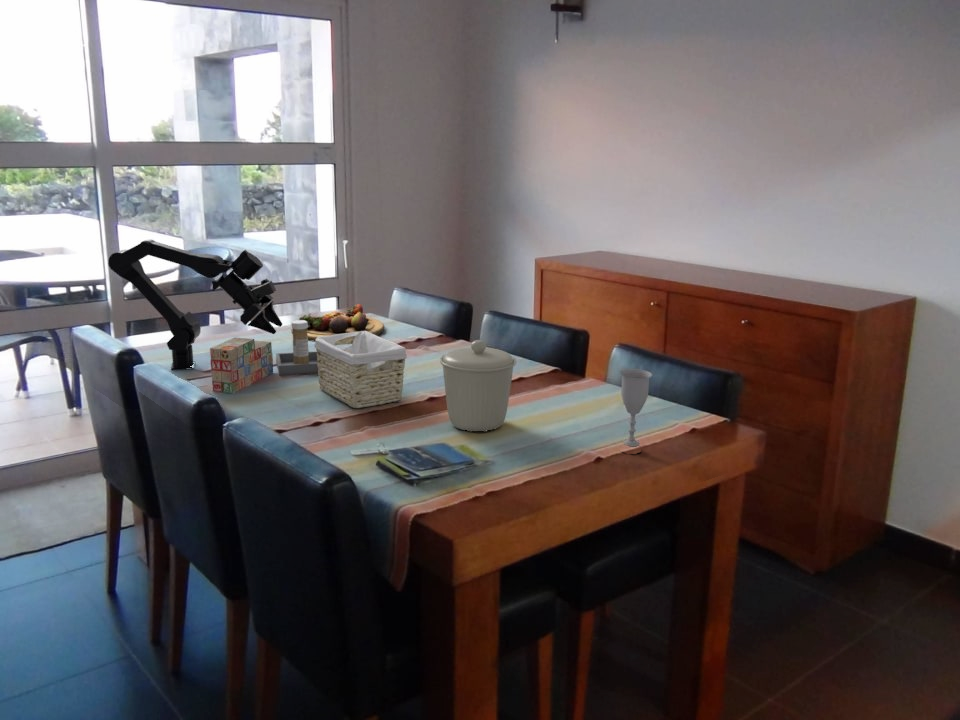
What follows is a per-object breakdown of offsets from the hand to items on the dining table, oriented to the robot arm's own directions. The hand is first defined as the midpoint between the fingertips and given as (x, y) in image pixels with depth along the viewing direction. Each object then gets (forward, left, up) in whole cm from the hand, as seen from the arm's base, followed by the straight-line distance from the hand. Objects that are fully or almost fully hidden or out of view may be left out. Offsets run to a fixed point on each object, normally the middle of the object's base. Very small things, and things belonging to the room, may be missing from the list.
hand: (278, 329), depth 246 cm
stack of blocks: (+12, -10, -12) cm, 20 cm away
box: (+2, +6, -12) cm, 13 cm away
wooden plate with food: (-43, +22, -12) cm, 50 cm away
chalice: (+85, +72, -12) cm, 112 cm away
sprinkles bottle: (+2, +6, -11) cm, 13 cm away
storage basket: (+31, +19, -12) cm, 38 cm away
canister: (+61, +43, -12) cm, 76 cm away
